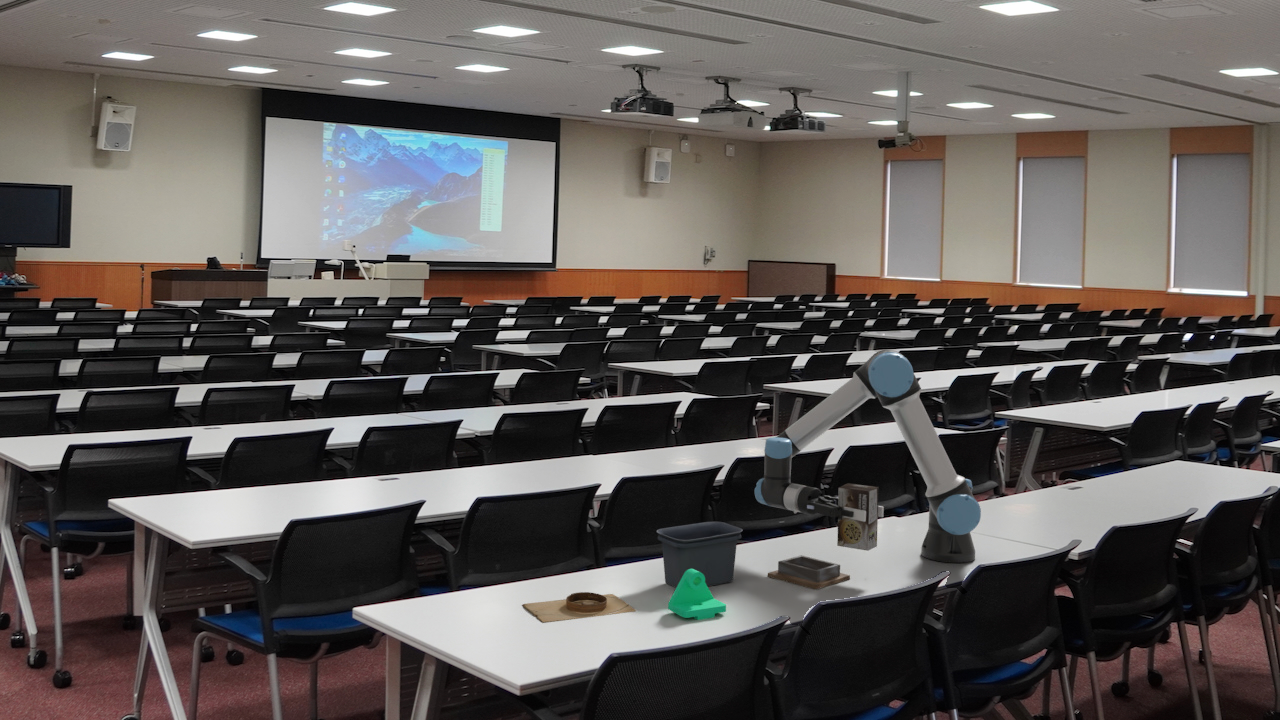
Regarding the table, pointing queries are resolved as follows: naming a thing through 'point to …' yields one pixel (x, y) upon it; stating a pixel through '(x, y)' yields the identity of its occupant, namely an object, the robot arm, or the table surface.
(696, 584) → the camera mount
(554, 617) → the board
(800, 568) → the socket
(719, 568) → the storage bin
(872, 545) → the coffee box
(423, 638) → the table surface
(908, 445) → the robot arm
